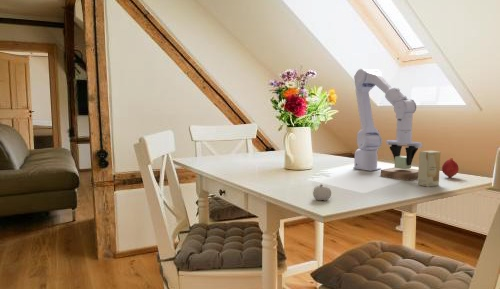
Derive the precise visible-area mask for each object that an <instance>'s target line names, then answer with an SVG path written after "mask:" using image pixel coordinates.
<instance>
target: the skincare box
mask: <svg viewBox="0 0 500 289" xmlns="http://www.w3.org/2000/svg"><path fill="white" fill-rule="evenodd" d="M418 153H419V154H418V169H417V170H418V178H417V185H419V186H423V187H427V188H429V187H435V186H439V185H440V184H439V183H440V168H441V166H440V165H441V154H442V153H441V151H438V150H421V151H419V152H418Z"/></svg>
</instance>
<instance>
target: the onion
mask: <svg viewBox="0 0 500 289" xmlns="http://www.w3.org/2000/svg"><path fill="white" fill-rule="evenodd" d="M459 169H460V168H459V165H458V163H457V162H456V161H455V160H454V159H453V157H450V158H448V159H447V160H446V161H445V162H443V164H442V167H441V171H442V173H443V174H444V175H445V176H447V177H448V178H451V179H452V178H453V177H454V176H455V175H457V174H458V172H459Z"/></svg>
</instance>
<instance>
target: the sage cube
mask: <svg viewBox="0 0 500 289" xmlns="http://www.w3.org/2000/svg"><path fill="white" fill-rule="evenodd" d="M394 167H395V168H400V169H412V164H411V165H407V155H400V156H396V157H395V160H394Z"/></svg>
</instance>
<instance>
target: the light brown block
mask: <svg viewBox="0 0 500 289" xmlns="http://www.w3.org/2000/svg"><path fill="white" fill-rule="evenodd" d="M418 170H419V169H416V168H409V169H400V168H395V166H394V167H390V168H384V169H380V177H385V178H391V179H397V180H402V181H411V180H416V179H417V180H418Z"/></svg>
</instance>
